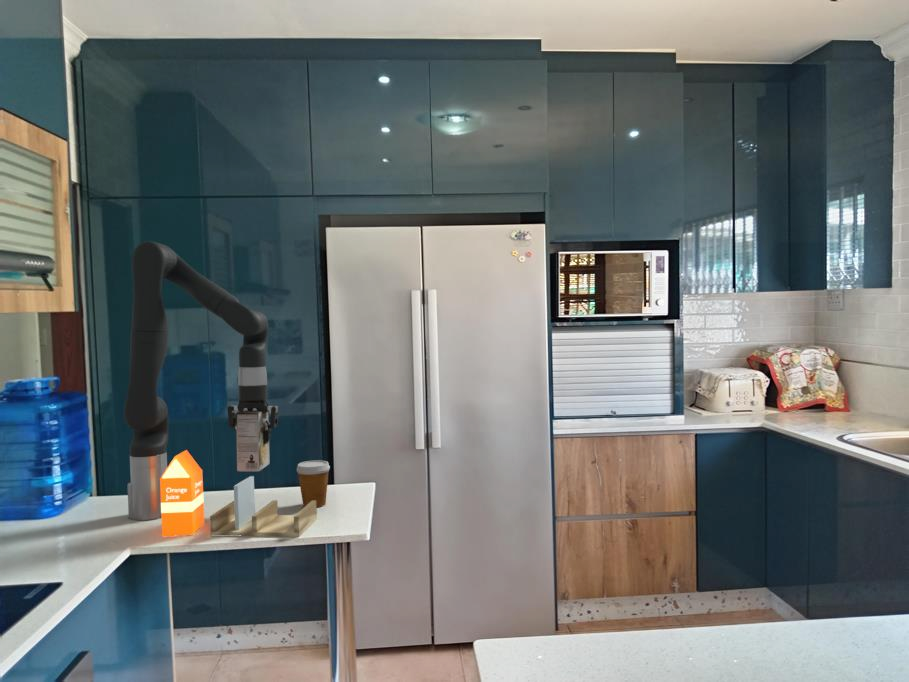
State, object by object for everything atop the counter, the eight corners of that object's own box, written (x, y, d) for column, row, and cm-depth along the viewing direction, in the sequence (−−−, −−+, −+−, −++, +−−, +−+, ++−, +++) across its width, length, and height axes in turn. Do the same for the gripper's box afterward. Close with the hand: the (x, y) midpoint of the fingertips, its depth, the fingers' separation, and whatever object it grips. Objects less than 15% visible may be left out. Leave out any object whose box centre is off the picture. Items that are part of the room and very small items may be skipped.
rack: (210, 535, 160) (210, 516, 160) (235, 518, 174) (234, 500, 174) (299, 536, 158) (298, 516, 158) (316, 519, 172) (316, 500, 172)
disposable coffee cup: (327, 509, 181) (326, 467, 180) (293, 510, 181) (292, 467, 180) (334, 500, 190) (333, 459, 190) (302, 500, 190) (300, 460, 190)
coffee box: (247, 464, 183) (247, 407, 182) (270, 464, 183) (269, 407, 182) (236, 471, 174) (235, 412, 173) (259, 471, 174) (259, 412, 173)
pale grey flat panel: (235, 529, 162) (233, 486, 161) (251, 517, 172) (250, 476, 171) (239, 529, 162) (237, 486, 161) (255, 517, 172) (253, 476, 171)
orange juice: (204, 524, 170) (202, 448, 169) (193, 535, 161) (190, 456, 160) (174, 525, 169) (171, 450, 169) (161, 536, 160) (158, 457, 160)
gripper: (221, 384, 175) (222, 445, 175) (272, 384, 173) (273, 446, 174) (233, 381, 182) (234, 440, 183) (283, 382, 181) (283, 441, 181)
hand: (253, 443), depth 178 cm, fingers closed on coffee box, 6 cm apart
